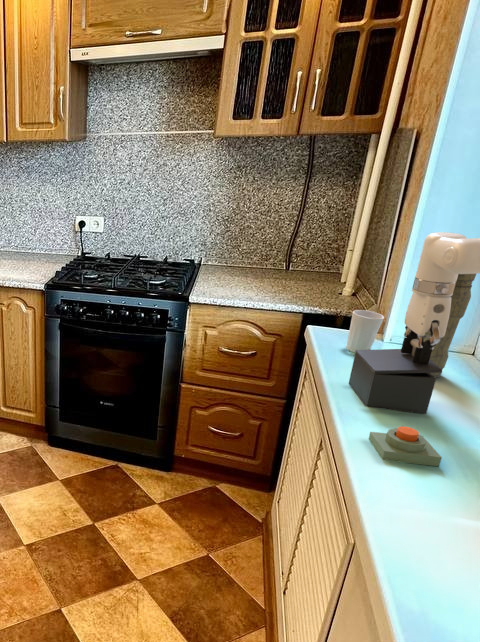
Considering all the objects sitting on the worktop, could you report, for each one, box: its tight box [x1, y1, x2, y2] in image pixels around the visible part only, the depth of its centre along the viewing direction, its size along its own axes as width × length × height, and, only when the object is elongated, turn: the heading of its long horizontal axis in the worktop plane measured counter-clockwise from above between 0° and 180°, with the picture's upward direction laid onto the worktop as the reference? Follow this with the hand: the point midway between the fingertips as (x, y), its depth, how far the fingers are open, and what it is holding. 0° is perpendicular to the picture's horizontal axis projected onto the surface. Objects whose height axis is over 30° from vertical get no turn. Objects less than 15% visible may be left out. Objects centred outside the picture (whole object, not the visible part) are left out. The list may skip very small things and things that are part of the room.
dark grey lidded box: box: [348, 352, 437, 415], centre depth 132 cm, size 13×14×9 cm
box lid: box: [355, 339, 443, 374], centre depth 129 cm, size 13×14×5 cm
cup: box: [345, 309, 385, 353], centre depth 161 cm, size 8×8×12 cm
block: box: [368, 427, 443, 467], centre depth 110 cm, size 10×8×4 cm
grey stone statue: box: [424, 274, 477, 378], centre depth 142 cm, size 9×12×35 cm
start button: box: [396, 426, 420, 442], centre depth 109 cm, size 4×4×2 cm
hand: (414, 357), depth 129 cm, fingers closed on box lid, 5 cm apart
